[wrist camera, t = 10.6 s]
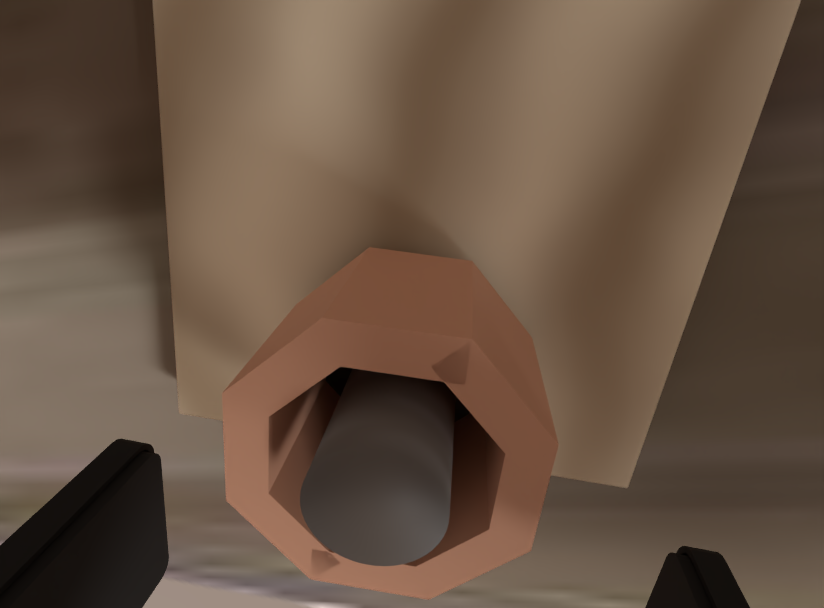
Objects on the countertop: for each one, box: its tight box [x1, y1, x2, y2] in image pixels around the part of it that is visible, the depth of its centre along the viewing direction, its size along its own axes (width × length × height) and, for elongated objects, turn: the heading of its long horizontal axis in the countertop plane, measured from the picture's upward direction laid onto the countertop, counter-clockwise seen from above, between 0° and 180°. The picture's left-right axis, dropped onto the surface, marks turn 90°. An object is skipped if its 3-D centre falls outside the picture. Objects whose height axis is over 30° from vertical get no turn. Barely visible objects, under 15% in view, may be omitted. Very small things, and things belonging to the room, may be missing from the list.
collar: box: [222, 247, 559, 600], centre depth 13 cm, size 7×7×5 cm
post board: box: [152, 0, 801, 566], centre depth 12 cm, size 16×20×8 cm
